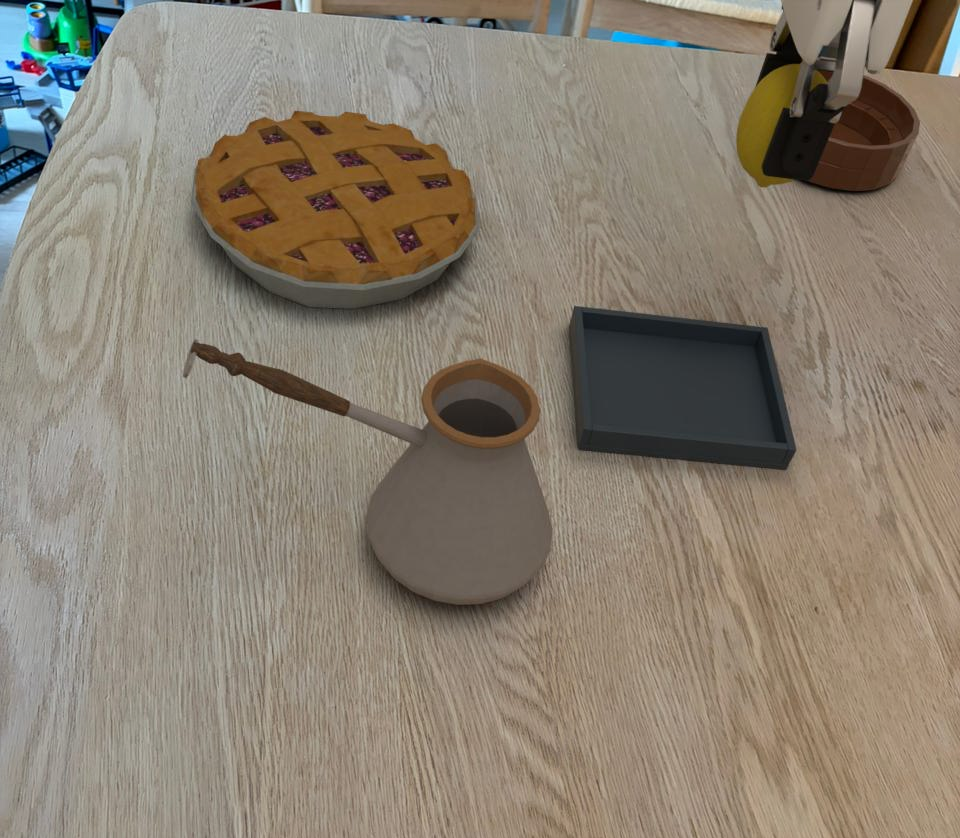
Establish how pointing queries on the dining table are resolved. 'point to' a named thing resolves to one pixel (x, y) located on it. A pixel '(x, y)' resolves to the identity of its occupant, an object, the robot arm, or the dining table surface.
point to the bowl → (868, 140)
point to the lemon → (766, 119)
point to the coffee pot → (445, 479)
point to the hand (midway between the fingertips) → (778, 144)
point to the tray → (678, 389)
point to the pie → (335, 208)
